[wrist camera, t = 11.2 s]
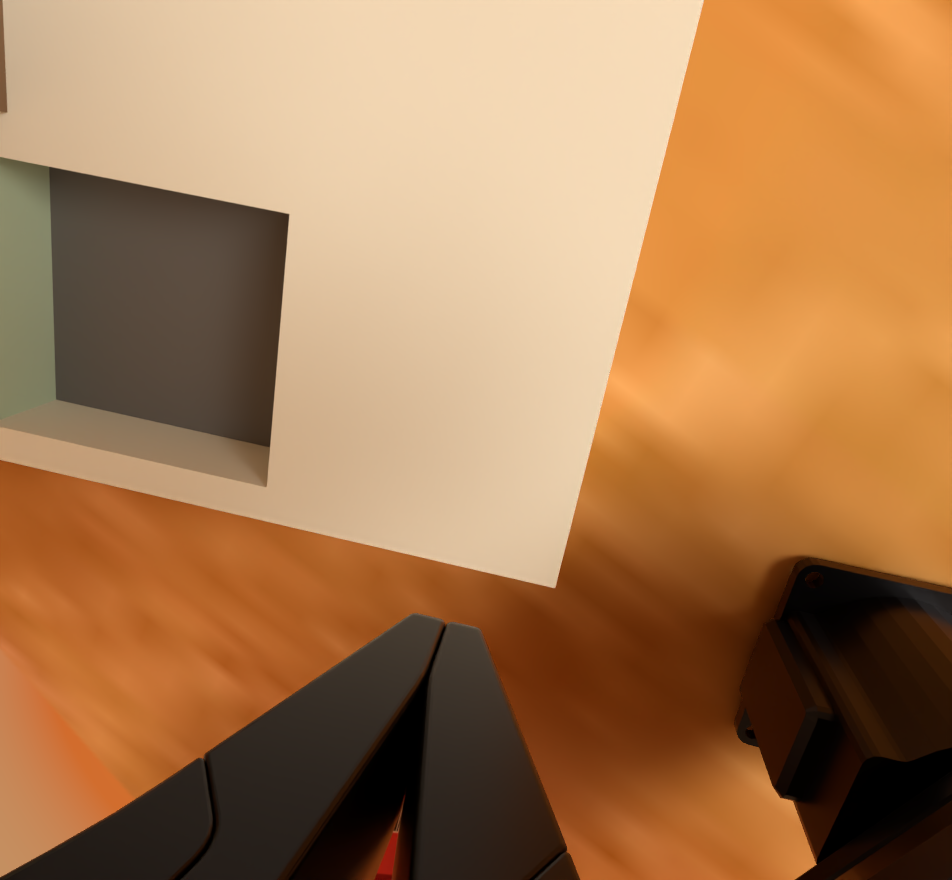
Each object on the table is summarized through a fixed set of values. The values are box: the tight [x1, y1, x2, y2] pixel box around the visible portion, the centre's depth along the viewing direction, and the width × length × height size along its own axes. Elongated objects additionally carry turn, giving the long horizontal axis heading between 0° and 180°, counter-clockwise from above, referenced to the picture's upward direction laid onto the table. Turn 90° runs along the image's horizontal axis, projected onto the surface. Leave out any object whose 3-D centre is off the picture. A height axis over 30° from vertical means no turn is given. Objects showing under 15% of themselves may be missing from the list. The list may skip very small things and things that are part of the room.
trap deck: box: [0, 0, 704, 588], centre depth 16 cm, size 22×24×3 cm
